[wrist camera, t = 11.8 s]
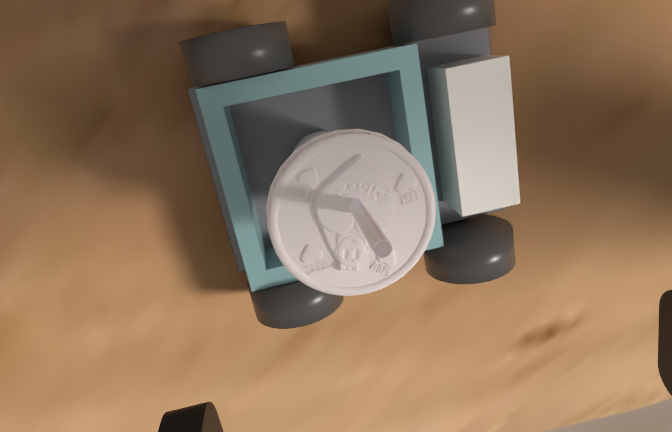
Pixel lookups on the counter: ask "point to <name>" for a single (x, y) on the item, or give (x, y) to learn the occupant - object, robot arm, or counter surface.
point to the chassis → (367, 114)
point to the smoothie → (350, 211)
